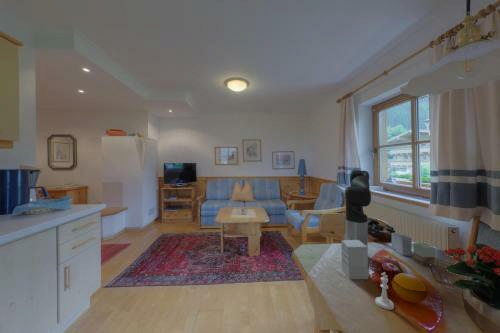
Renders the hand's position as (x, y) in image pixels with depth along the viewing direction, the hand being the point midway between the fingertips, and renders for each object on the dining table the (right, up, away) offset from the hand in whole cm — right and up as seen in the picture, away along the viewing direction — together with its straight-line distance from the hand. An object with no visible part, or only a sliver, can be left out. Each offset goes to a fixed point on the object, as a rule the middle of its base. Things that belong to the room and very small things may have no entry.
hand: (386, 232), depth 110 cm
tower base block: (+2, -6, -22) cm, 23 cm away
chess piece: (-33, -7, -47) cm, 58 cm away
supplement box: (-34, -7, -30) cm, 46 cm away
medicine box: (0, -6, -11) cm, 13 cm away
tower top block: (+2, -2, -22) cm, 22 cm away
